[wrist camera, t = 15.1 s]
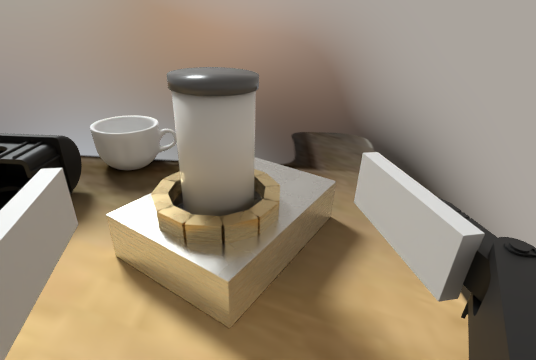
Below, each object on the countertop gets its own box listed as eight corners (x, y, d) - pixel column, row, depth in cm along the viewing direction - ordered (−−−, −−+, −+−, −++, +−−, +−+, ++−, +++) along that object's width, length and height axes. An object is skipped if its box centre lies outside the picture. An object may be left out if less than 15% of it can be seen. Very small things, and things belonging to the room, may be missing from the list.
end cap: (88, 184, 37) (74, 127, 34) (50, 218, 31) (29, 153, 28) (2, 181, 37) (-20, 124, 34) (-54, 214, 31) (-87, 148, 28)
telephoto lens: (223, 234, 22) (218, 86, 18) (164, 207, 25) (146, 73, 21) (270, 198, 27) (275, 74, 22) (215, 179, 30) (210, 64, 25)
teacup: (93, 178, 38) (82, 135, 36) (105, 154, 45) (97, 116, 42) (179, 172, 41) (175, 131, 38) (179, 150, 47) (175, 113, 45)
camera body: (229, 328, 21) (227, 261, 18) (115, 255, 26) (102, 197, 24) (331, 216, 33) (338, 167, 30) (237, 183, 38) (237, 139, 36)
